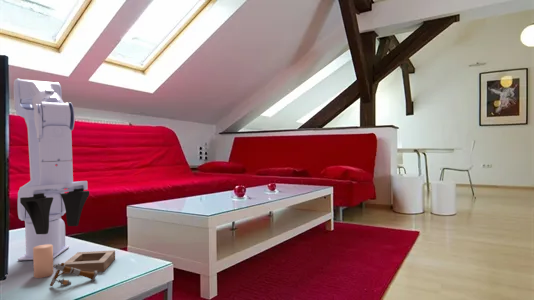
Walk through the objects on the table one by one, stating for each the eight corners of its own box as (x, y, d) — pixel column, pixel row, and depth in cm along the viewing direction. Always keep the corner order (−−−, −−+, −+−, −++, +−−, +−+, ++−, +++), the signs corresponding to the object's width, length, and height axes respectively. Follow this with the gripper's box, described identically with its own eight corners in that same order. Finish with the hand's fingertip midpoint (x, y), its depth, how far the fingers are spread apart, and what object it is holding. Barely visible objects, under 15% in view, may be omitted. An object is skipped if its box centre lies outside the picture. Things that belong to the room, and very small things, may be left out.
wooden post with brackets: (45, 282, 67) (55, 260, 68) (87, 291, 71) (97, 269, 72) (44, 285, 66) (55, 262, 67) (87, 294, 69) (97, 272, 70)
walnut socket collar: (78, 260, 82) (77, 252, 82) (115, 258, 83) (115, 250, 83) (62, 273, 74) (62, 264, 74) (103, 271, 75) (103, 262, 75)
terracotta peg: (39, 272, 75) (38, 244, 75) (56, 271, 76) (55, 244, 75) (30, 278, 72) (29, 249, 71) (48, 277, 72) (47, 248, 72)
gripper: (41, 161, 61) (44, 238, 61) (98, 160, 76) (100, 222, 75) (9, 163, 63) (11, 238, 63) (71, 161, 77) (73, 222, 77)
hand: (58, 229), depth 69 cm, fingers open, 7 cm apart
